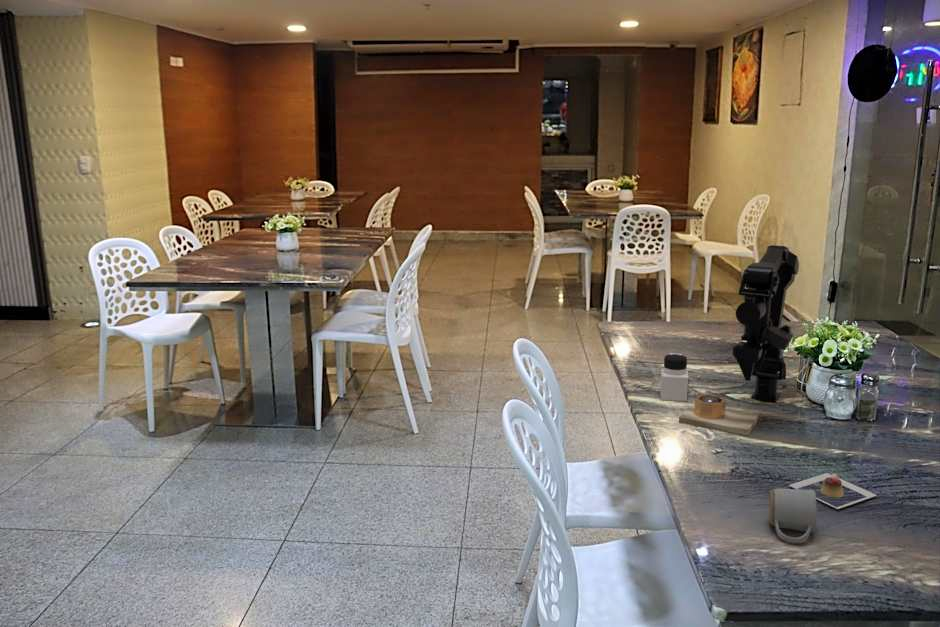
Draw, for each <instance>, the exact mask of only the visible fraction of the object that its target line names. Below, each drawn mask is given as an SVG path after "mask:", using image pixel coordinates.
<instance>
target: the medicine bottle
mask: <svg viewBox="0 0 940 627" xmlns="http://www.w3.org/2000/svg"><path fill="white" fill-rule="evenodd" d="M687 365H688V358H687V356H686V355H683V354H681V353H669V354H666V355H665V356H664V358H663V367H662V368H661V369H660V384H659V395H660V400H661V401H670V402H671V401H673V402H686V401H687V402H688V397H689V383H690V382H689V381H690V376H689V372H688V369H687Z"/></svg>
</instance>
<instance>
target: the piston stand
mask: <svg viewBox="0 0 940 627" xmlns="http://www.w3.org/2000/svg"><path fill="white" fill-rule="evenodd" d="M694 410H695V402H692V403H691V404H690V405H689V406H688V407H687V408H686V409H685V410H684V411H683V412H682V413H681V415H679V417H678V423H679V424H683V423H684V425H688V424H689V426H695V427H699V426H700V428H705V429H710V430H711V429H712V430H715V431H721V432H726V433H730V432H731V434H736V435H741V434H742V436H746V435H747V436H749V435H750V433H751V432H752V430H753V429H754V427H755V426H756V424H757V423H758V421H759V419H760V418H759V417H760V414H758V413H755V412H748V411H744V410H743V411H742V410H738V409H737V410H736V409H731V408H726V407H725V415H724V416H723V418H720V419H707V418H701V417H699V416H697V415H696V414H695V413H694Z"/></svg>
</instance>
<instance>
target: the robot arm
mask: <svg viewBox="0 0 940 627" xmlns="http://www.w3.org/2000/svg"><path fill="white" fill-rule="evenodd" d="M799 265H800V262H799V258H798V255H796V254H794V253H793V252H792V251H790V249H789V247H786V245H774V244H772V245H768V246H767V248H766V251H765V253H764V255H763V256H762V257H761V258H760V260H759V261H758V262H753V263H751V264H749V265H747V267H746V268H745V269H743V271H742V272H743V273H742V277H741V281H740V285H739V289H738V295H739V296H743V297H744V300H743V302H741V303H740V304H739V305H738V306H737V307H736V310H735V317H736V320H737V321H738V322H739V323H740V324H741V325H744V327H743V334H742V336H740V337H741V339H740V340H741V341H739V342H738V343H736V345H734V346H733V347H732V354H731V355H732V356H733V358H735V360H736V361H737V364H738V365H739V368H740V370H741V373H742V375H743V378H744V379H745V381H748V382H750V381H751V379H752V376H753V377H755V383H754V384H755V385H754V392H753V393H752V394H751V396H750V398H751V399H753V398H755V400H759V399H760V401H765V400H767V401H766V402H771V401H772V403H776V402H777V401H778V399H779V397H780V395H781V394H780V393H779V392H778V384H779V381H782V380H786V379H787V364H786V363H785V361H786V360H785V358H783V357H784V352H783V351H785V350H786V349H787V348H788V347H789V345H790V344H791V341H792V339H793V337H794V335H793V333H792V327H791V326H790V325H787V324H784V325H782V323H783V322H782V321H783V315H784V308H785V303H786V295H787V290H788V289H789V288H790V287H791V285H792V284H794V282H795V278H796V276H797V275H798V274H799V273H798V272H799V268H800V266H799Z"/></svg>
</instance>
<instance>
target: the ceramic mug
mask: <svg viewBox="0 0 940 627" xmlns="http://www.w3.org/2000/svg"><path fill="white" fill-rule="evenodd" d="M816 498H817V493H816V491H815V490H814V489H800V488H798V489H794V488H792V489H791V488H781V487H780V488H774V489H771V490H770V491H769V500H768V502H769V503H768V509H769V510H768V519H769V524H770V525H772V526H773V527H775V532H776V535H777V536H778V537H779V538H780V539H781V540H783V541H784V542H786V543H789V544H795V545H796V544H797V545H798V544H802V543H804V542H806V541H807V539H808V538H809V537H810V533H815V532H816V527H817V499H816ZM781 529H789V530H794V531H800V532H805V533H804V534H803V535H801V536H799V537H795V536H793V537H792V536H789V535H786V534H785V533H783V532H782V531H781Z"/></svg>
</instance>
